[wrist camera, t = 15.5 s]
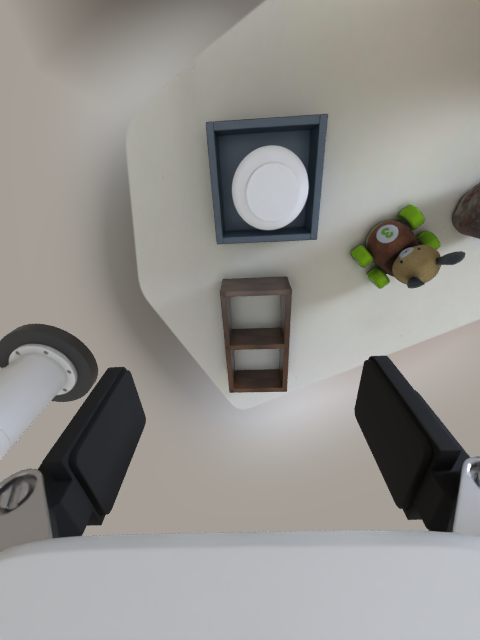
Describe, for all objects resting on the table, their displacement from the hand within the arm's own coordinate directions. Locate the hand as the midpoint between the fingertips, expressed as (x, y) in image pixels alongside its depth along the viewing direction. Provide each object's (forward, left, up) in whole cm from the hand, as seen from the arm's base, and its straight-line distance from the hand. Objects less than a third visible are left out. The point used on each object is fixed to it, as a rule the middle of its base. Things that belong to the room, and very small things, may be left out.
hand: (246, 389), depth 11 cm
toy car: (+20, -3, -31) cm, 37 cm away
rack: (+1, -16, -31) cm, 35 cm away
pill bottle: (+2, +6, -31) cm, 31 cm away
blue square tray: (+2, +6, -31) cm, 32 cm away
